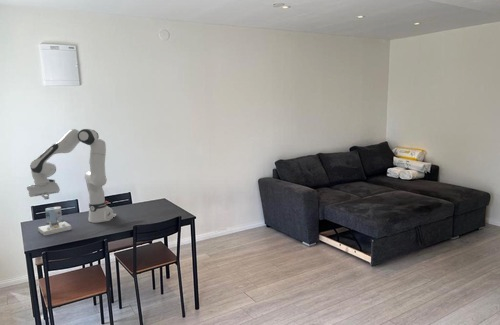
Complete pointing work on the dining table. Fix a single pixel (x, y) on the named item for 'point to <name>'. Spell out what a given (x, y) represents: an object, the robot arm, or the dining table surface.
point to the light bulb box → (57, 214)
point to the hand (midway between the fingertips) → (46, 198)
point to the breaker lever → (53, 218)
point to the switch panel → (54, 228)
